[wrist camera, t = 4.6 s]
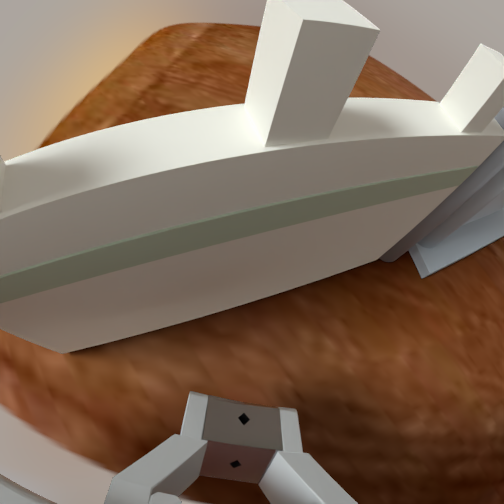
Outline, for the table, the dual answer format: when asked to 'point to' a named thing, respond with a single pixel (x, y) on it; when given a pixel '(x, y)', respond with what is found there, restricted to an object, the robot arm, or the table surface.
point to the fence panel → (240, 189)
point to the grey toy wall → (463, 229)
